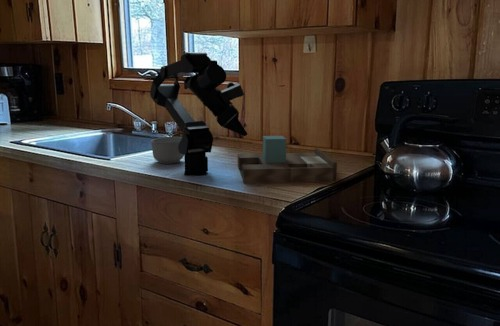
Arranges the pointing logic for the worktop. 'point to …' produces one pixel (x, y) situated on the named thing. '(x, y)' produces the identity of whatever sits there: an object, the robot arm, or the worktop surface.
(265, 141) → the teal block
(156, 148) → the teacup
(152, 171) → the worktop surface
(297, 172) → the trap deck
